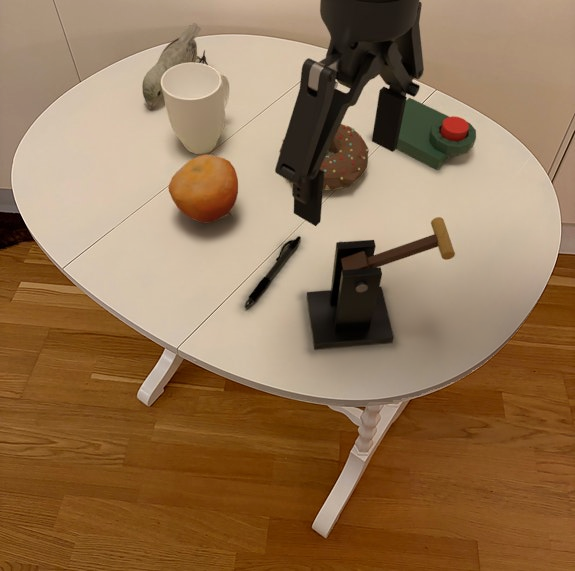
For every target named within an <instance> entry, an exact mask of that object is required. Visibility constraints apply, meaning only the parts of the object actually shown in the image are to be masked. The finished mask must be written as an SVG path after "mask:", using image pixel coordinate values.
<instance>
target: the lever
mask: <svg viewBox="0 0 575 571" xmlns="http://www.w3.org/2000/svg"><path fill="white" fill-rule="evenodd" d="M430 225H431V228H432V231H433V234H431V235H428V236H426V237H422V238H419V239H416V240H414V241H411V242H407V243H405V244H401V245H399V246H396V247H394V248H390V249H388V250H385V251H382V252H379V253H376V254H374V255H373V256H370V257H367V255H366V254H365V252H364V251H362V252H359V253H356V254H353V255H350V256H348V257H345V258H342V259H341V261H342V266H343V270H351V269H365V268H378V267H383V266H385V265H389V264H392V263H394V262H397V261H400V260H403V259H406V258H408V257H411V256H412V257H413V256H415V255H417V254H421V253H423V252H427V251H429V250H433V249H435V248H438V251H439V253H440V256H441V259H443V260H445V261H446V260H451V259H453V258H454V257H455V255H456V252H455V249H454V246H453V243H452V241H451V237H450V234H449V231H448V228H447V225H446V222H445V219H444V218H443V217H440V216H437V217H434V218H433V219H432V220H431V221H430Z"/></svg>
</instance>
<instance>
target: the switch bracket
mask: <svg viewBox="0 0 575 571" xmlns="http://www.w3.org/2000/svg"><path fill="white" fill-rule="evenodd" d="M376 247H377V246H376V241H375V239H366V240H365V239H364V240H350V241H349V240H348V241H338V242H336V243H335V249H334V250H335V251H334V260H333V266H332V267H333V269H332V275H331V276H332V277H331V285H330V289H328V290H315V291H306V303H307V310H308V316H309V325H310V330H311V338H312V345H313V349H314V350H319V349H331V348H343V347H355V346H368V345H379V344H393V341H394V338H395V337H394V332H393V329H392V325H391V320H390V316H389V312H388V309H387V303H386V299H385V296H384V290H383V287H382V285H381V282H382V277H383V271H382V268H381V267H382V266H380V267H377V268H365V269H351V270H343V266H342V261H341V259H342V258H345V257H348V256H350V255H353V254H356V253H359V252H362V251H364V252H365V254H366V255H367V257H370V256H373V255H375V251H376Z"/></svg>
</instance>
